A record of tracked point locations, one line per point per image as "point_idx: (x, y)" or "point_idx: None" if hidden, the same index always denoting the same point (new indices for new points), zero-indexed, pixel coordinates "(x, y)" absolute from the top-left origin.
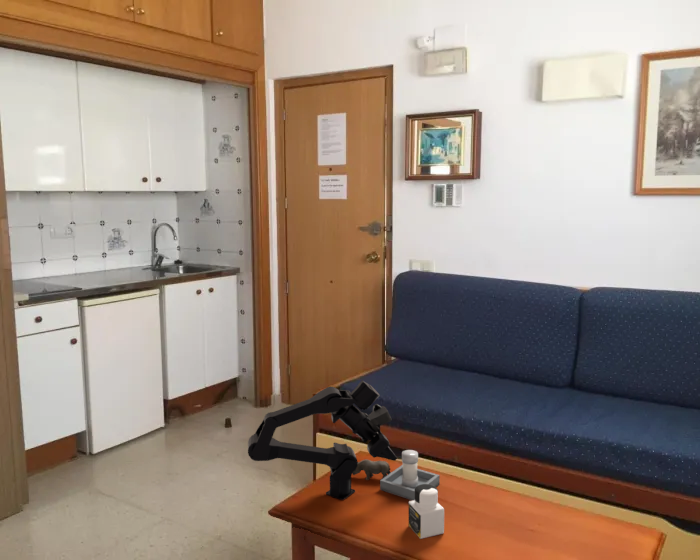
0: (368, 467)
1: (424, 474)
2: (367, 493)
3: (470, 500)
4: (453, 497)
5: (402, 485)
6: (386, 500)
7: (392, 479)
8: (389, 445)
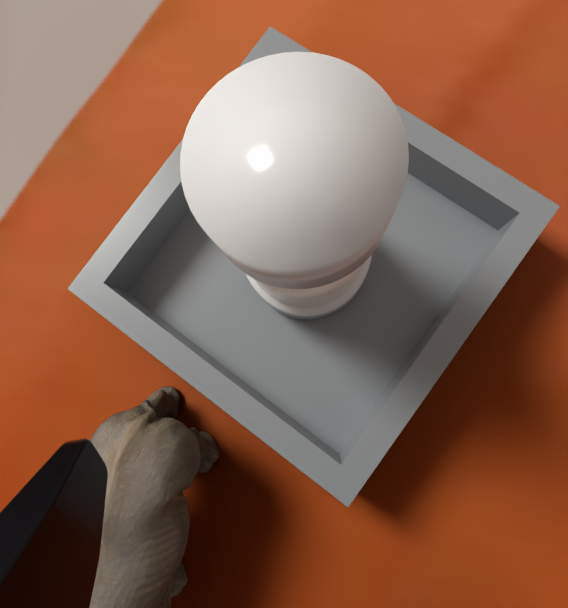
0: None
1: None
2: (398, 591)
3: None
4: (454, 4)
5: (322, 317)
6: (505, 450)
7: (250, 388)
8: (89, 453)
